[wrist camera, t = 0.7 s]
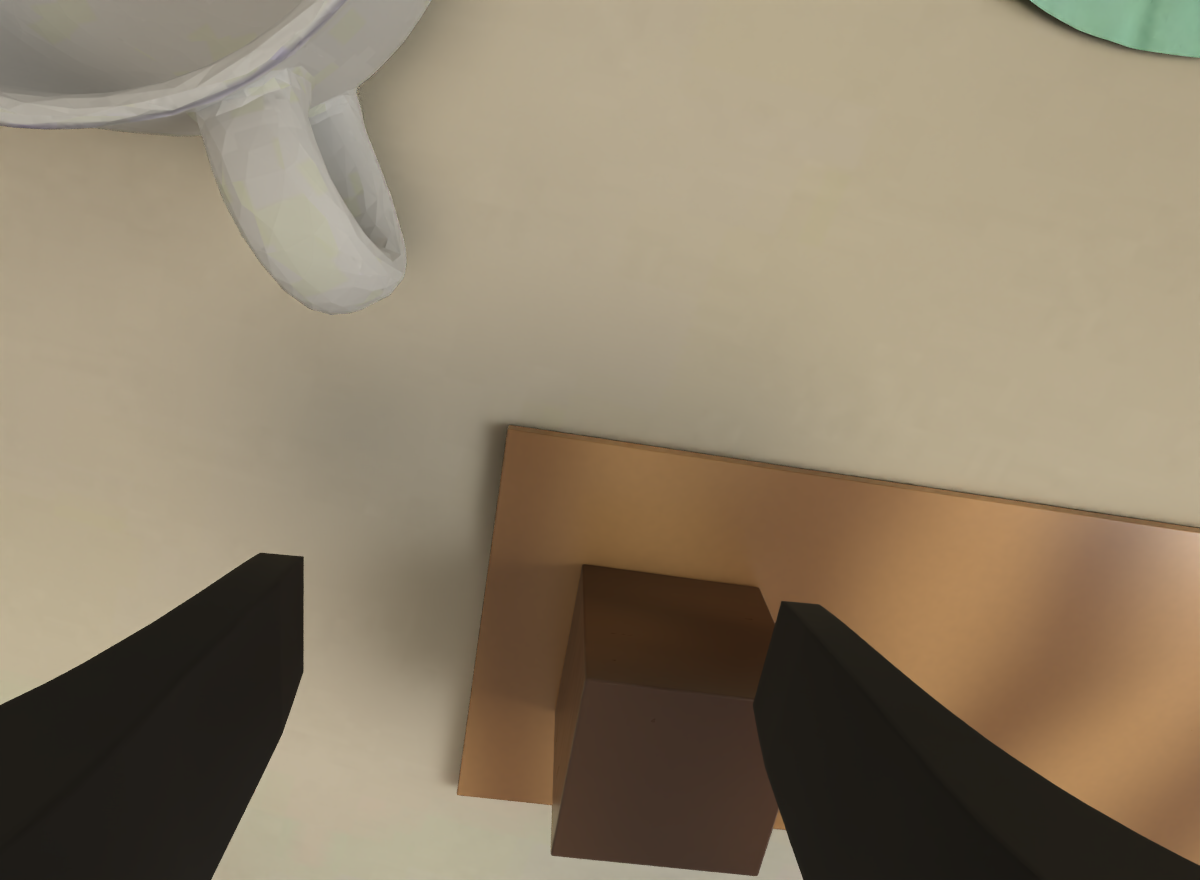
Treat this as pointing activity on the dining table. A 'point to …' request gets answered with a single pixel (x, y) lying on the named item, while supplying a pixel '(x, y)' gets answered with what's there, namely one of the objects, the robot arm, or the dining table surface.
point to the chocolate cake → (1134, 22)
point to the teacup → (236, 115)
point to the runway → (865, 609)
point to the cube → (662, 724)
